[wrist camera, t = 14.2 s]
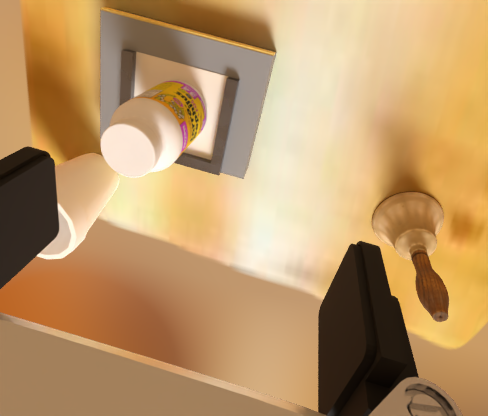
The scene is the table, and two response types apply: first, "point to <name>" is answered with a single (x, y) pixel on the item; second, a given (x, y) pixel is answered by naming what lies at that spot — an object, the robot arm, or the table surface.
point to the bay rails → (223, 125)
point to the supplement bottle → (153, 128)
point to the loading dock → (188, 77)
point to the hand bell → (415, 242)
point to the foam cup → (79, 200)
